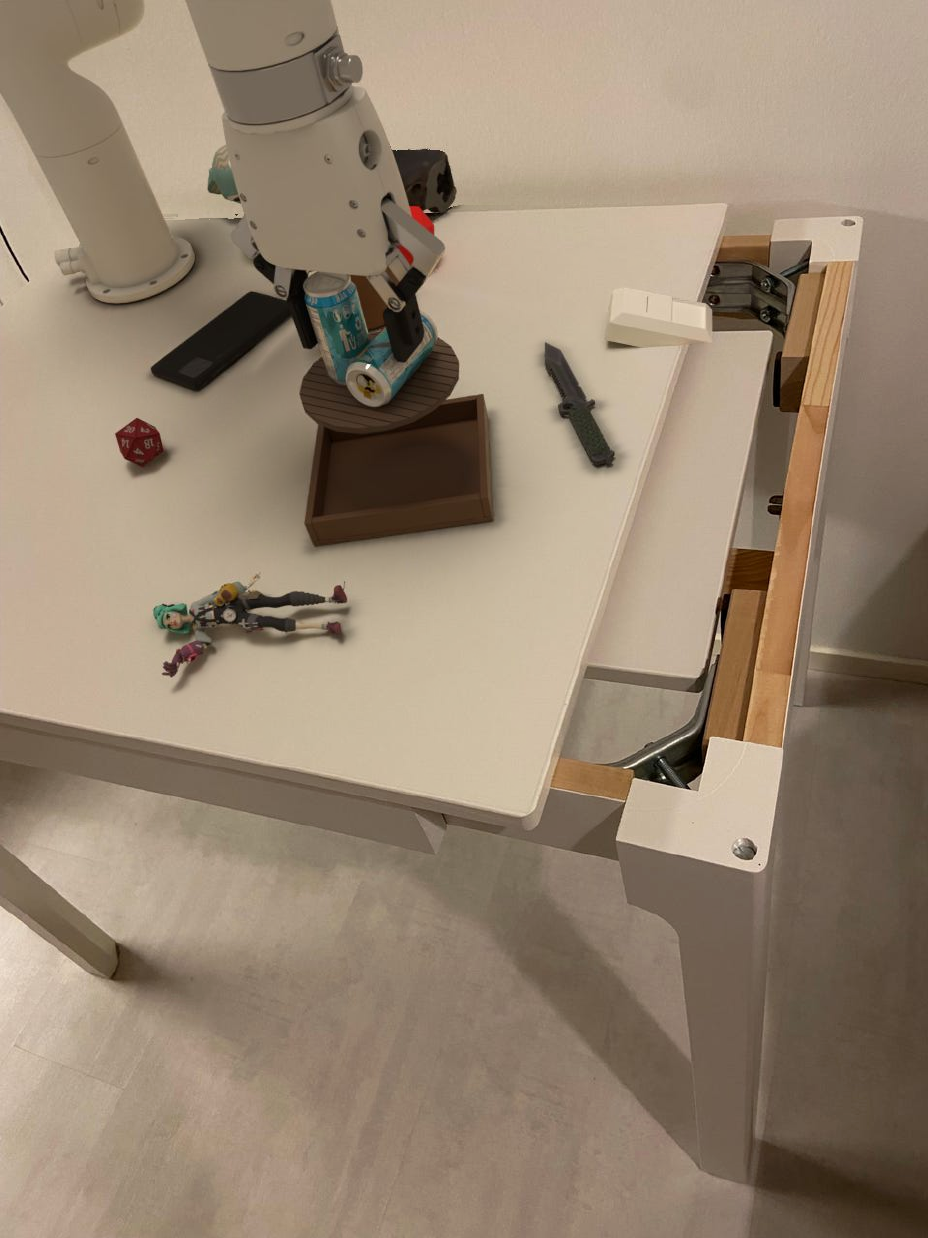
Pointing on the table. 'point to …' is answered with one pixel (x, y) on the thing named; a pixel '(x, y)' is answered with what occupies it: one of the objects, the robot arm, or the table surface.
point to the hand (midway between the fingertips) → (363, 342)
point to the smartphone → (222, 340)
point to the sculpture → (426, 178)
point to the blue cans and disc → (368, 365)
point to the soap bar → (656, 319)
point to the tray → (402, 476)
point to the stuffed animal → (222, 177)
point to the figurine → (235, 616)
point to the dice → (139, 442)
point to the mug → (371, 299)
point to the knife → (577, 406)
